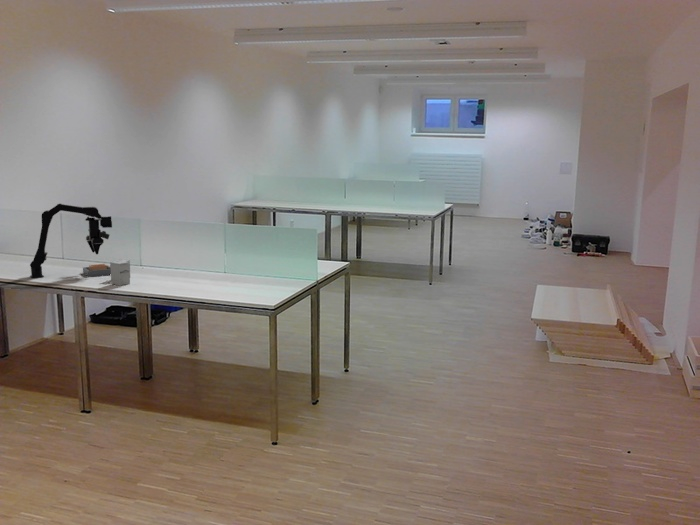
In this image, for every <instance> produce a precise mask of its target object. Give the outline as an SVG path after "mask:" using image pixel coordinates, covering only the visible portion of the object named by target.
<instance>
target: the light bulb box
mask: <svg viewBox="0 0 700 525" xmlns="http://www.w3.org/2000/svg"><path fill="white" fill-rule="evenodd" d="M118 261H125V262H129V270H130V271H131V261H130V260H128V259H118V260H114V261H110V262H109V264H110V263H112V262H118ZM109 267H110V268H111V264H110V266H109Z"/></svg>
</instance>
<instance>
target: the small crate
mask: <svg viewBox="0 0 700 525" xmlns="http://www.w3.org/2000/svg"><path fill="white" fill-rule="evenodd" d="M88 267H89V271H93V270H104V269H107V264H106V263H100V264H89V265H88Z"/></svg>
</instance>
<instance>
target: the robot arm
mask: <svg viewBox="0 0 700 525" xmlns="http://www.w3.org/2000/svg"><path fill="white" fill-rule="evenodd" d="M59 212H70V213H76V214H82V215H84V216H87V217H86V218H85V222H88V229H87V230H88V235H86V236H85V241H86V242H87V245H88V246H89V248H90V250H91V252H92V253H94V254H95V255H99V251H100V248H101V246H102V245H103V244H104V239H105V240H109V238H110V234H109V233H107V232H106V231H105V230H102V231H101V229H100V227H101V228H103V229H105V228H106V229H107V228H109V229H110V228H113V221H112V216H102V214H100V213H99V209H98V207H96V206H78V205H77V206H76V205H69V204H64V203H57V204H56V205H55V206H54V207H52V208H50V209H49V210H44V211H43V212H42V213H41V230H40V235H39V239H38V240H39V241H38V247H37V250H36V253H35V254H34V257H33V260H32V261H31V262H30V264H29V266H30V274H31V275H29V277H30V278H31V279H35V278H36V279H37V278H44V275H43V268H42V267H43V266H42V265H43V264H44V263H45V261H46V260H47V255H48V252H47V251H46V244H47V238H48V233H49V228H50V225H51V223H52V220H53V217H54V216H55V215H56V214H58V213H59Z"/></svg>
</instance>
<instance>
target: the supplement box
mask: <svg viewBox="0 0 700 525" xmlns="http://www.w3.org/2000/svg"><path fill="white" fill-rule="evenodd" d="M111 262H112V263H110V262H109V264H111V275H110V282H111V285H113V284H115V285H114V286H118V285H120V286H123V285H130V284H131V269H130V270H129V262H125V261H118V262H114V261H111Z"/></svg>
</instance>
